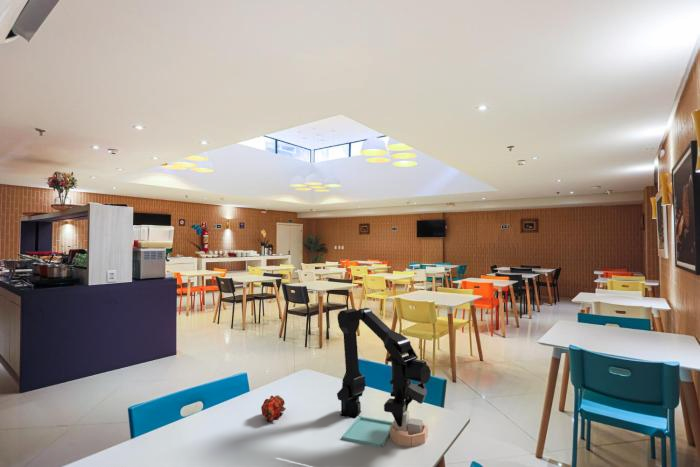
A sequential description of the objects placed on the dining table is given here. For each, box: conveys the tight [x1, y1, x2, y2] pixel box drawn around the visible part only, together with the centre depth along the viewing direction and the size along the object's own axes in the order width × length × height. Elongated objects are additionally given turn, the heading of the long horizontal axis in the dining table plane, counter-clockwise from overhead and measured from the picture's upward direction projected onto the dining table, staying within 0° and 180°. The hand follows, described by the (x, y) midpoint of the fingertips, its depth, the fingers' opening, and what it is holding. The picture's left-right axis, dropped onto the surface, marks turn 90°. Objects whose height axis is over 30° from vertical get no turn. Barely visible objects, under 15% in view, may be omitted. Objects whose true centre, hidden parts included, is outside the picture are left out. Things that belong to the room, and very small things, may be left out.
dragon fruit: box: [260, 395, 287, 423], centre depth 139 cm, size 8×8×12 cm
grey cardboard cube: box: [393, 410, 410, 432], centre depth 123 cm, size 4×4×5 cm
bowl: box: [389, 418, 429, 448], centre depth 122 cm, size 12×12×4 cm
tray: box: [341, 415, 393, 448], centre depth 126 cm, size 14×16×1 cm
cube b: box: [408, 417, 424, 435], centre depth 122 cm, size 4×4×5 cm
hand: (401, 423), depth 123 cm, fingers closed on grey cardboard cube, 4 cm apart
